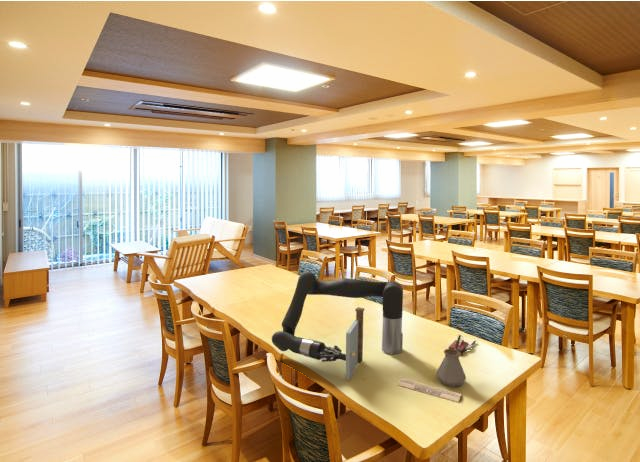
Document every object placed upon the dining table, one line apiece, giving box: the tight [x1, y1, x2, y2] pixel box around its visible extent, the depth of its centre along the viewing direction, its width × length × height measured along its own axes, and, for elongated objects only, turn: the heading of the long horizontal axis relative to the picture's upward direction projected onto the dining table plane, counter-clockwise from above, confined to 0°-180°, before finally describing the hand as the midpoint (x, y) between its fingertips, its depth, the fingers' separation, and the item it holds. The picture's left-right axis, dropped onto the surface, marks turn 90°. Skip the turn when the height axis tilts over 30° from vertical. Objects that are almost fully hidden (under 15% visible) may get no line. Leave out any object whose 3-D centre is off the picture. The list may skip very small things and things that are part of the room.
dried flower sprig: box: [447, 338, 477, 356], centre depth 193 cm, size 9×4×20 cm
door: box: [345, 319, 359, 381], centre depth 167 cm, size 16×3×20 cm, turn 161°
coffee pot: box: [436, 334, 467, 387], centre depth 164 cm, size 21×12×15 cm, turn 149°
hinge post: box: [355, 307, 365, 364], centre depth 176 cm, size 3×3×25 cm
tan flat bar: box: [397, 377, 463, 403], centre depth 153 cm, size 24×7×2 cm, turn 59°
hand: (347, 358), depth 164 cm, fingers closed
